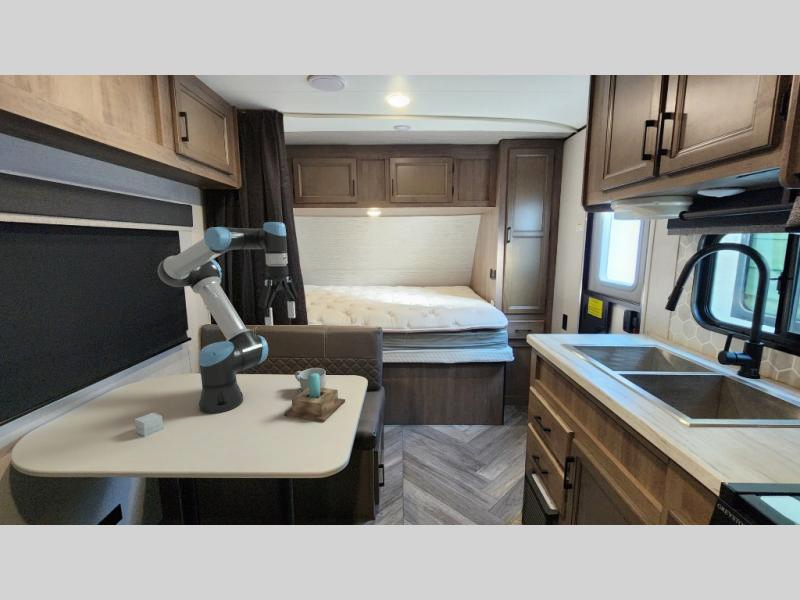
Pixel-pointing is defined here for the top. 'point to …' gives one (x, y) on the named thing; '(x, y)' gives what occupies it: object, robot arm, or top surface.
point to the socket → (315, 405)
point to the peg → (314, 385)
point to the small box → (148, 424)
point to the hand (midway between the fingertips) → (281, 321)
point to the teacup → (304, 377)
